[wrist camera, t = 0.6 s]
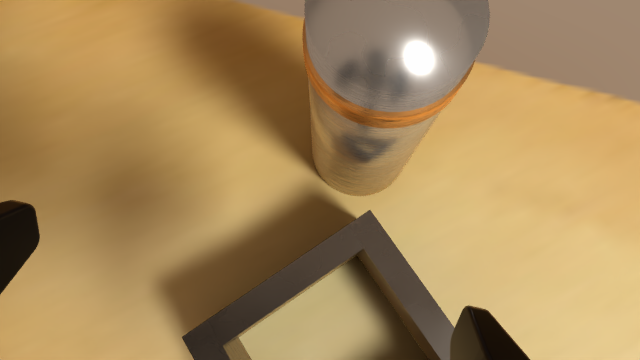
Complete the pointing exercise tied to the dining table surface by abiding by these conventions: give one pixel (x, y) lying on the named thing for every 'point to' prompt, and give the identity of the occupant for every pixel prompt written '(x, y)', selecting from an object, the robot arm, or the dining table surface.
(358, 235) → the collar
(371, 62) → the tube
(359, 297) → the dining table surface
